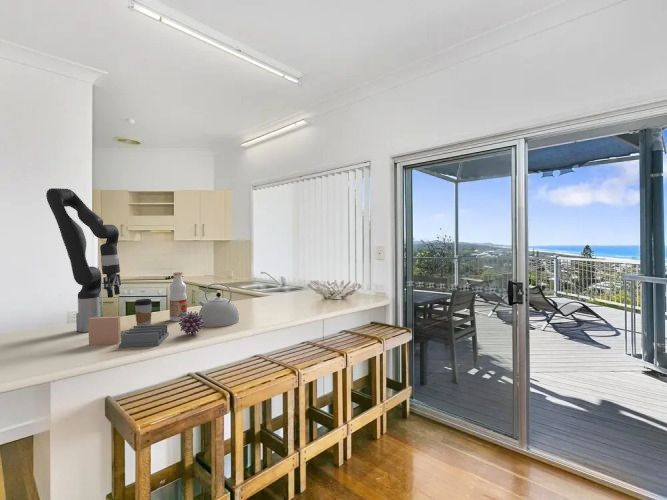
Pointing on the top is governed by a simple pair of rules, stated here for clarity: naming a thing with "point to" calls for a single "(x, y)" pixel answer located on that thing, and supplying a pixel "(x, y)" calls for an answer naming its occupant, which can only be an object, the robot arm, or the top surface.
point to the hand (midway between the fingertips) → (114, 295)
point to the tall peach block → (104, 330)
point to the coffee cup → (143, 312)
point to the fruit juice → (177, 298)
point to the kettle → (218, 310)
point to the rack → (144, 336)
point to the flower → (191, 322)
